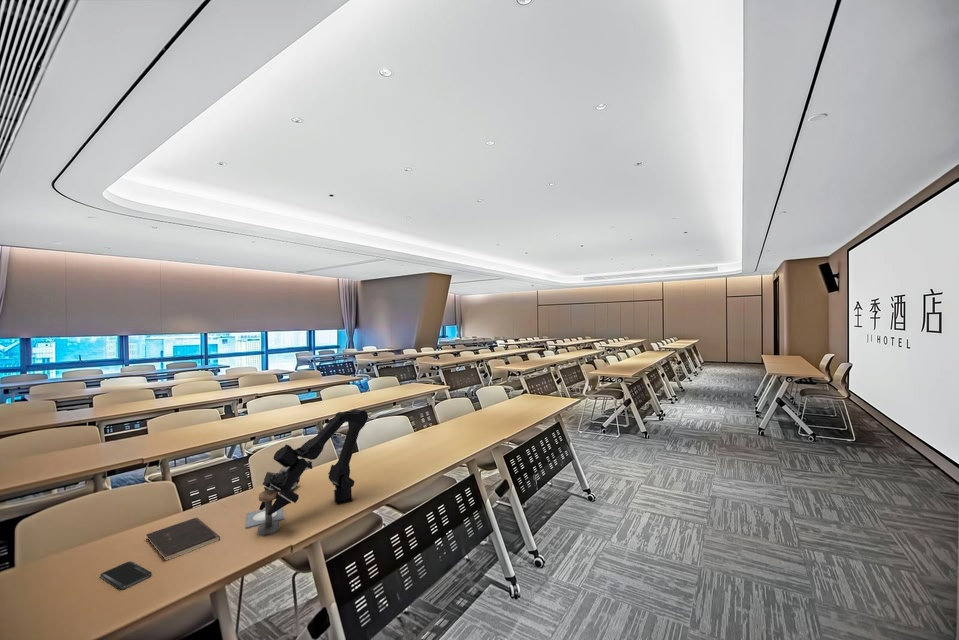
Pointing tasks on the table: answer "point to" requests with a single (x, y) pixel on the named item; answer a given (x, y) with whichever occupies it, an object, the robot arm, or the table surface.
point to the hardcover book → (182, 538)
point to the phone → (126, 575)
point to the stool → (269, 525)
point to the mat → (262, 517)
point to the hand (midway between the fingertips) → (264, 512)
